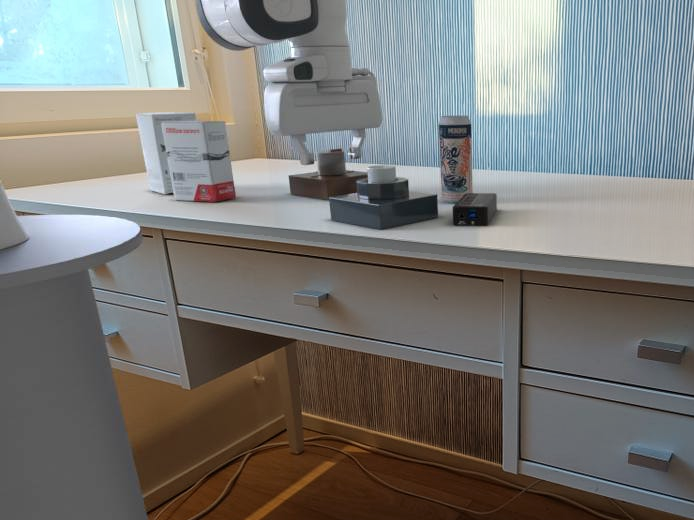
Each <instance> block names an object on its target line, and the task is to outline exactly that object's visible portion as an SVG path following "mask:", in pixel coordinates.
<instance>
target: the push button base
mask: <svg viewBox="0 0 694 520" xmlns="http://www.w3.org/2000/svg"><path fill="white" fill-rule="evenodd" d="M356 186H357V193H353V194H347V195H340V196H334V197H329V200H328V201H329V202H328V203H329V211H330V212H329V213H330V220H331V221H334V222H338V223H344V224H350V225H355V226H360V227H365V228H369V229H370V228H372V229H376V230H386V229H389V228H395V227H399V226H404V225H408V224H413V223H418V222H423V221H427V220H432V219H437V218H439V203H438V194H436V193H429V192H420V191H414V190H410V188H409V187H410V186H409V179H408V178H406V177H403V176H401V177H400V176H396V181H392V182H368V178H365V179H360V180H357V181H356Z"/></svg>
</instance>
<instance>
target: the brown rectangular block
mask: <svg viewBox="0 0 694 520" xmlns="http://www.w3.org/2000/svg"><path fill="white" fill-rule="evenodd" d="M365 178H368V172H367V171H359V170H350V169H346V174H343V175H334V176H323V175H319V174H318V170H316V171H313V172H312V171H311V172H305V173H297V174H289V175H288V183H289V191H290V195H294V196H299V197H305V198H313V199H319V200H325V201H329V197H334V196H340V195H347V194H353V193H357V186H356V181H357V180H360V179H365Z"/></svg>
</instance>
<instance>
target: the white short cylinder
mask: <svg viewBox="0 0 694 520" xmlns="http://www.w3.org/2000/svg"><path fill="white" fill-rule="evenodd" d="M396 171H397V169H396V166H395V165H391V164H390V165H389V164H388V165H387V164H385V165H384V164H382V165H381V164H380V165H370V166H367V168H366V172H368V182H392V181H396V177H397V172H396Z"/></svg>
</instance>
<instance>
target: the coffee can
mask: <svg viewBox="0 0 694 520" xmlns="http://www.w3.org/2000/svg"><path fill="white" fill-rule="evenodd" d="M472 137H473V136H472V122H471V119H470V116H469V115H441V116H440V119H439V121H438V144H439V168H440V169H439V170H440V171H439V172H440V196H441V197H440V199H441V200H442V201H444V202H445V203H448V204H449V203H450V204H456V203H457V202H458V201H459V200H460V199H461V198H462V197H463V196H464V195H465V194H466V193H474V191H473V190H474V189H473V187H474V186H473V145H472V144H473V142H472V141H473V139H472Z"/></svg>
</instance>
